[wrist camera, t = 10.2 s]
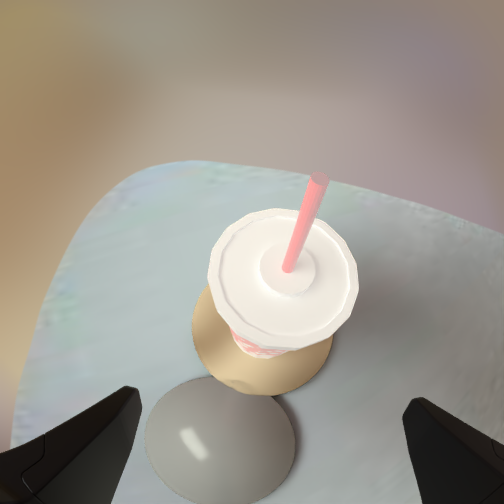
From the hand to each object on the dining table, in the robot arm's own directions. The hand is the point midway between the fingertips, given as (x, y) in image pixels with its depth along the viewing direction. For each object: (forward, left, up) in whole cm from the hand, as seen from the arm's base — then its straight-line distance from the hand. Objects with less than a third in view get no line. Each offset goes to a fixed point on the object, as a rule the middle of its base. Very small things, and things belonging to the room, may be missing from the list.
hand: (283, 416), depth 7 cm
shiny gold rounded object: (+5, -3, -11) cm, 12 cm away
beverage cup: (+4, -3, -10) cm, 12 cm away
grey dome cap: (-1, +4, -11) cm, 11 cm away
